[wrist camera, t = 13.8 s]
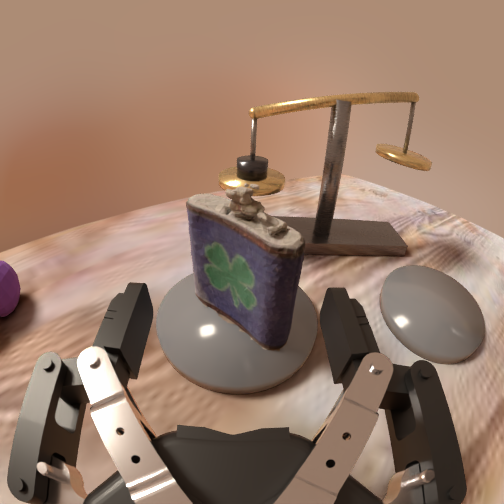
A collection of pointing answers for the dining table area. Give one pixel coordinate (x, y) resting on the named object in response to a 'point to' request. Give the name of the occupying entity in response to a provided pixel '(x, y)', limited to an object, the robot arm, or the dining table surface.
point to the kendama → (8, 289)
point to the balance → (330, 178)
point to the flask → (245, 264)
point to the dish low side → (228, 344)
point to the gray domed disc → (432, 314)
